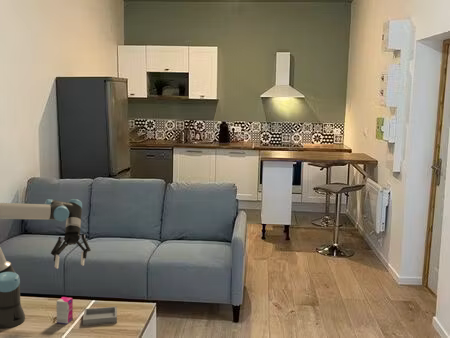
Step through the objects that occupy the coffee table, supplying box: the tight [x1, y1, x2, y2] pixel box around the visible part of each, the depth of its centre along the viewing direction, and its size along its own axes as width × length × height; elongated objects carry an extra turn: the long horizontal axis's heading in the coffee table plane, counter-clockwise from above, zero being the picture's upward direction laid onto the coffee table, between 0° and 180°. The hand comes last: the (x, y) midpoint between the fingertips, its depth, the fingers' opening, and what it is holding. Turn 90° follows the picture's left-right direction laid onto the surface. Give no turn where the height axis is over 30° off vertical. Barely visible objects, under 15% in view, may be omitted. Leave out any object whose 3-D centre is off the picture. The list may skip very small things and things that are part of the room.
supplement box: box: [56, 296, 74, 325], centre depth 237 cm, size 6×6×12 cm
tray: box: [82, 305, 118, 327], centre depth 241 cm, size 16×13×3 cm
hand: (69, 266), depth 244 cm, fingers open, 13 cm apart
